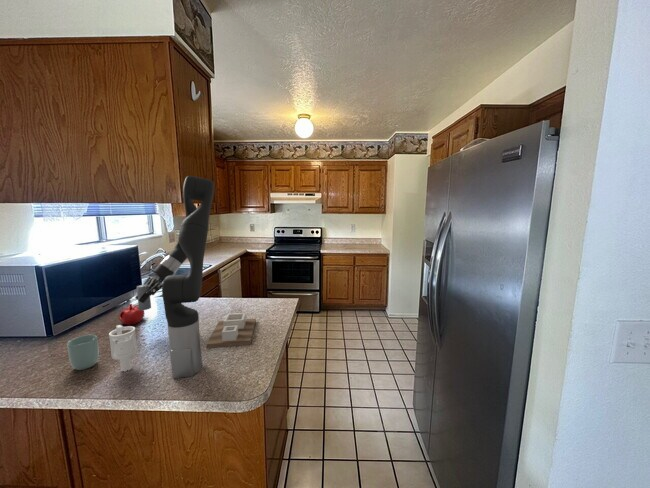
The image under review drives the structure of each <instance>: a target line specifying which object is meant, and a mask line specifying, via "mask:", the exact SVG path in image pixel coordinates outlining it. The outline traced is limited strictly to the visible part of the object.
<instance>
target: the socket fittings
mask: <svg viewBox="0 0 650 488" xmlns="http://www.w3.org/2000/svg"><path fill="white" fill-rule="evenodd" d="M246 319H247V313H246V312H237V313H227V314H226V316H225V317H224V319H223V320H222V321H223V322H224V328H223V331H222V341H234V340H236V339H237V337H238V329H244V326H245V323H246Z"/></svg>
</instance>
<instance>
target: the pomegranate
mask: <svg viewBox="0 0 650 488" xmlns="http://www.w3.org/2000/svg"><path fill="white" fill-rule="evenodd" d="M126 307H127V308H122V309H121V312H120V314H119V316H118V317H119V321H120V322H121V324H122V325H127V326H131V325H135V324H138V323H139V322H141V321H142V320H143V318H144V317H145V310H139V305H138V304H137V305H135V304H132V303H130V304H129V305H127V306H126Z"/></svg>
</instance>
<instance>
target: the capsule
mask: <svg viewBox="0 0 650 488" xmlns="http://www.w3.org/2000/svg"><path fill="white" fill-rule="evenodd" d="M148 286H149V285H143V284H140V285H136V293H137V294H136V296H138V300H137V305H139V306H138V307H139V310H144V311H146V310H150V309H152V303H151V296H149V297H148V298H147V300H146V301H145V302H144V303H142V302H140V301H139V299H140V298H141V296H142V295H143V294H144V293H145V292H146V291H147V289H148Z"/></svg>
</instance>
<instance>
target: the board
mask: <svg viewBox="0 0 650 488" xmlns="http://www.w3.org/2000/svg"><path fill="white" fill-rule="evenodd" d="M223 321H224V320H219V321H218V322H217V324H216V326H215V328H214V329H213V331H212V333H211V335H210V337H209V339H208V340H207V342H206V344H205V346H206V348H207V349H209V348H210V349H211V348H218V347H219V348H220V347H221V348H222V347H232V346H233V347H234V346H243V345H251V344H252V341H253V340H252V339H253V336H254V331H255V328H256V327H255V326H256V322H257V318H246V323H245V326H244V329H238V337H237V339H236V340H234V341H222V331H223V328H224V322H223Z"/></svg>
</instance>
